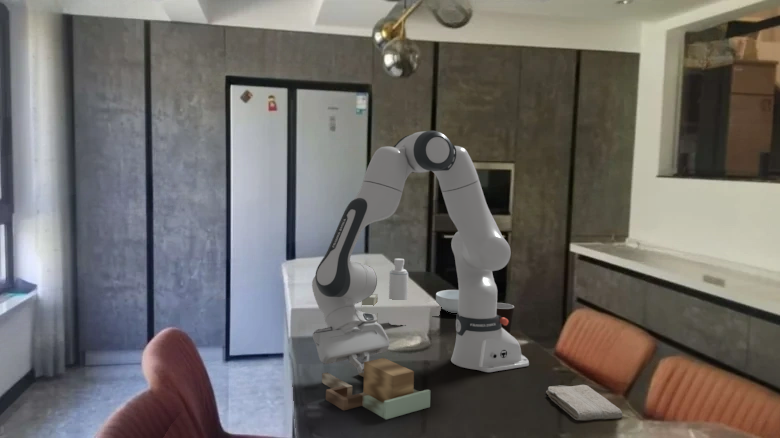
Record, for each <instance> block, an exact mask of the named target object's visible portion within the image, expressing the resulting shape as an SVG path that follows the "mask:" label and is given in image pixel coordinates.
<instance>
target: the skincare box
mask: <svg viewBox="0 0 780 438" xmlns="http://www.w3.org/2000/svg"><path fill="white" fill-rule="evenodd" d="M378 299H379V298H378V293H373V294H372V295H371V296H370V297H368V298H367V299H365V300H363V301H361V306H362V305H373V306H374V305H375V304H376V303H377V302H378Z"/></svg>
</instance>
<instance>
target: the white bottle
mask: <svg viewBox="0 0 780 438" xmlns="http://www.w3.org/2000/svg"><path fill="white" fill-rule="evenodd" d="M393 265H394V268H393V269H391V271H389V282H388V283H389V286H388V289H389V290H388V291H389V292H388V300H389V299H392V300H407V299H408V300H409V271H407V269H405V268H404V265H405V259H404V258H398V257H397V258H394V260H393Z"/></svg>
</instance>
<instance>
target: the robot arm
mask: <svg viewBox="0 0 780 438" xmlns="http://www.w3.org/2000/svg"><path fill="white" fill-rule="evenodd" d="M428 172H432V173H434V175H435V177H436V178H437V180H438V185H439V187H440V191H441V193H442V197H443V200H444V204H445V207H446V210H447V213H448V216H449V218H450V220H451V221H452V222H453V224H454V227H455V228H456V229H457V231H456V232H455V234H454V235H453V236H452V239H451V242H450V244H451V246H450V247H451V250H452V253H453V256H454V260H455V261H454V262H455V268H456V269H455V270H456V275H457V283H458V290H459V302H458V313H457V314H456V320H455V331H456V332H455V333H456V338H455V342H454V343H455V344H454V347H453V352H452V355H451V358H450V361H451V363H452V364H454V365H456V366H457V367H460V368H463V369H464V368H465V369H470V370H477V371H481V372H484V373H493V372H498V371H499V372H500V371H505V370H506V371H507V370H513V369H517V368H525V367H529V365H530V362H529V359H528V358H527V357H526V356H525V355H523V354H522V349H521V345H520V343H519V341H518V340H517V339H516V338H515V336H513V335H511V333H510V334H509V333H508V332H507V331H506V330H504V329H503V328H502V326H501V324H503V325H508V322H509V320H508V319H506V318H504V317H500V316H498V315H497V303H498V286H497V284H496V282H495V278H494V275H493V272H495V271H499V270H502V269H503V268H505V267H506V266H507V265H508V263H509V262H510V259H511V255H512V254H511V253H512V252H511V251H512V250H511V247H510V244H509V243H508V241H507V240H506V239H505V237H504V236H503V235H502V232H501V231H500V228H499V226H498V225H497V222H496V220H495V219H494V216H493V215H492V213H491V210H490V208H489V206H488V204H487V200H486V197H485V195H484V191H483V189H482V184H481V182H480V178H479V175H478V171H477V168H476V167H475V164H474V162H473V160H472V157H471V156H470V154H469V152H468V151H467V149H466V148H464V147H462V146H459V145H454V144H453V143H452V142H451V140H450V139H449V138H448V137H447V136H446V135H445V134H444V133H442V132H441V131H438V130H427V131H425V130H424V131H418V132H414V133H412V134H408V135H406V136H404V137H402V138H400V139H399V140H398V141H397V142H396V143H395V144H394V145H393V146H391V145H390V146H389V145H388V146H387V145H386V146H381V147H379V148H378V149H376V150H375V151H374V154H373V155H372V157H371V159H370V162H369V164H368V165H367V169H366V172H365V173H364V177H363V179H362V183H361V185H360V189H359V192H358V193H357V194H356V196H355V197H354V199H352V200H351V201H350V202H349V203H348V204H347V206H346V208H345V210H344V211H343V215H342V216H341V218H340V221H339V223H338V225H337V228H336V231H335V232H334V235H333V237H332V240H331V242H330V243H329V247H328V248H327V251H326V253H325V254H324V256H323V258H322V259H321V260H320V262H319V264H318V265H317V268H316V271H315V276H314V277H313V279H312V281H311V288H312V292H313V296H314V299H315V303H316V305H317V306H318V309H319V311H321V313H322V314H323V318H324V320H323V321H324V323H325V325H326V327H324V328H318V329H316V330H314V332H312V339H313V342H314V343H315V346H316V350H317V355H318V358H319V361H320V362H321V363H322V364H324V365H328V364H334V363H337V362H342V361H343V362H344V361H348V362H349V364H351V366H352V367H354V368H356V370H357V372H358V374H359V373H363V372H364V362H367V361H370V356H373V355H376V354H381V353H382V354H383V353H385V352H386V351H387V350H388V349H389V347H390V345H391V341H390V339H389V336H388V334H387V333H386V331H385V330H384V328H383V326H382V325H381V324H380V323H378V316H377V317H376V315H375V314H372V313H366V312H362V310H361V311H360V310H358V309H357V308H356V307H355V305H356V304H359V303H362V301H363V300H365V299H367V298H368V297H370V296H371V295H372V294H374V293H375V292H376V288H377V286H378V277H377V274H376V272H375V270H374V268H373V267H371V265H367V264H365V263H364V264H363V263H360V262H356V261H351V256H352V255H353V254H352V253H353V251H354V249H355V246H356V244H357V242H358V239H359V237H360V235H361V232H362V231H363V229H365V228H366V227H367V226H368V225H370V224H372V223H376V222H380V221H384V220H386V219H388V218H390V217H391V216H393V215H394V214H395V213H396V211H397V210H398V207H399V205H400V203H401V199H402V195H403V191H404V188H405V184H406V181H407V178H408V177H409V175H410V174H413V173H420V174H424V173H428ZM376 321H377V322H376ZM358 358H360V359H361V361H363V363H361V362H360V361H359V360H358Z"/></svg>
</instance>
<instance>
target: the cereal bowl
mask: <svg viewBox="0 0 780 438" xmlns="http://www.w3.org/2000/svg"><path fill="white" fill-rule="evenodd" d="M435 301H436V304H437V303H438V304H440V305H441V307H442V308H441V309H442V310H444V311H446V312H447V311H448V312H451V313H458V302H459V289H446V290H440V291H437V292H436V293H435ZM438 304H437V305H438ZM448 312H447V313H448ZM451 313H450V314H451Z"/></svg>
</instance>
